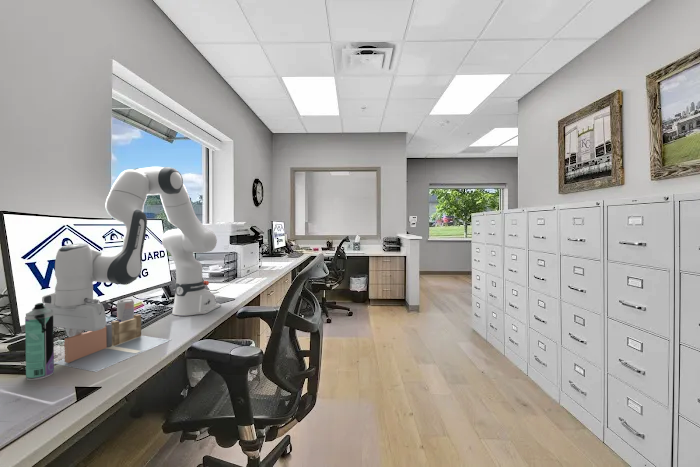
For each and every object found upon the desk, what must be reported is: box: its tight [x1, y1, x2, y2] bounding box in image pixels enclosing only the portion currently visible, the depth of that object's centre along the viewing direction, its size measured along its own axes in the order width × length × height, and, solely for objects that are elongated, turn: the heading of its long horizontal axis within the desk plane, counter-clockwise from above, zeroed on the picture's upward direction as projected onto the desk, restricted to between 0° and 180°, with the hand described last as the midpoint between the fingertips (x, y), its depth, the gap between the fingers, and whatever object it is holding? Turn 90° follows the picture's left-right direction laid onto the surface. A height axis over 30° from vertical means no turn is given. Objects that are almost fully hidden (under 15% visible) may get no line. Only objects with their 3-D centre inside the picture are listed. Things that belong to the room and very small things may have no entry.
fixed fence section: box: [110, 313, 142, 346], centre depth 113 cm, size 10×2×8 cm, turn 163°
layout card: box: [54, 334, 172, 373], centre depth 105 cm, size 26×18×1 cm
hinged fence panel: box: [64, 323, 112, 363], centre depth 101 cm, size 14×2×7 cm, turn 167°
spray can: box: [24, 302, 55, 381], centre depth 87 cm, size 6×6×20 cm
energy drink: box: [116, 298, 135, 323], centre depth 123 cm, size 5×5×12 cm
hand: (74, 342), depth 99 cm, fingers closed
